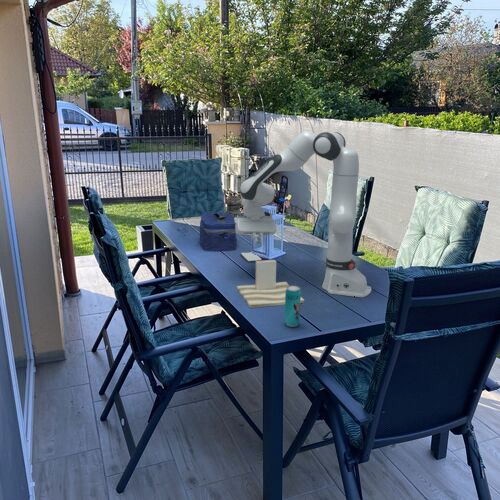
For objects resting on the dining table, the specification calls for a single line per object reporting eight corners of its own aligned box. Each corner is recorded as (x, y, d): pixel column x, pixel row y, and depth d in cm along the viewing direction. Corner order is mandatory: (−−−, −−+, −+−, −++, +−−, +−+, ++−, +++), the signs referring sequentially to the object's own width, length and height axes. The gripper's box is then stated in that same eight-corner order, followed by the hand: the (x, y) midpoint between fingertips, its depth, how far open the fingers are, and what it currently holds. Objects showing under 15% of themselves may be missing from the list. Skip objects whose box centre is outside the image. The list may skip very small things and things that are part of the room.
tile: (274, 286, 225) (274, 259, 221) (275, 288, 223) (276, 261, 219) (255, 288, 223) (255, 261, 219) (256, 290, 220) (257, 262, 217)
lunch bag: (240, 252, 284) (240, 217, 278) (204, 254, 279) (203, 219, 274) (230, 238, 313) (230, 207, 307) (198, 240, 308) (197, 208, 303)
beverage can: (293, 329, 184) (294, 291, 180) (281, 324, 188) (282, 288, 184) (302, 324, 188) (303, 287, 184) (290, 320, 192) (291, 284, 188)
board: (236, 288, 225) (236, 285, 225) (285, 284, 232) (285, 281, 231) (250, 308, 203) (250, 305, 203) (304, 302, 209) (304, 300, 209)
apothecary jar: (237, 222, 357) (237, 198, 352) (222, 221, 361) (222, 197, 356) (243, 219, 368) (244, 195, 363) (229, 218, 372) (229, 194, 367)
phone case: (263, 262, 266) (254, 254, 281) (263, 260, 265) (254, 251, 280) (247, 264, 263) (239, 255, 278) (247, 261, 263) (239, 252, 278)
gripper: (235, 212, 228) (240, 239, 222) (274, 213, 236) (280, 239, 230) (231, 218, 233) (235, 244, 227) (269, 219, 241) (275, 245, 236)
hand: (258, 242), depth 229 cm, fingers closed
